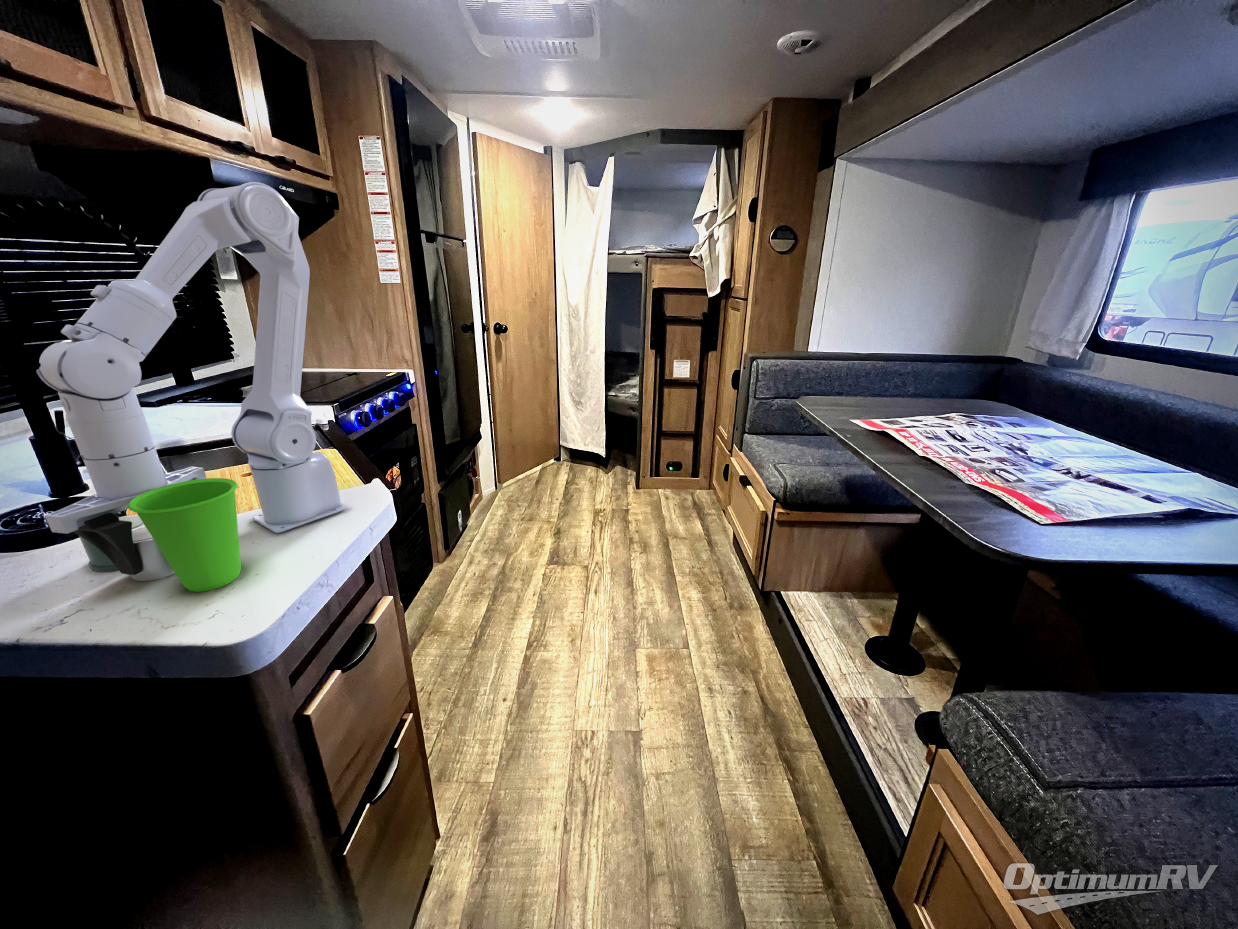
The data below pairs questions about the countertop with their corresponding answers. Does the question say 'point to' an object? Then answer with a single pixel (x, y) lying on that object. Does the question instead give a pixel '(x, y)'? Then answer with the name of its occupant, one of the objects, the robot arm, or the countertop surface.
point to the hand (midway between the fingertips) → (159, 559)
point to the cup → (195, 530)
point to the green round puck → (98, 558)
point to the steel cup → (149, 557)
